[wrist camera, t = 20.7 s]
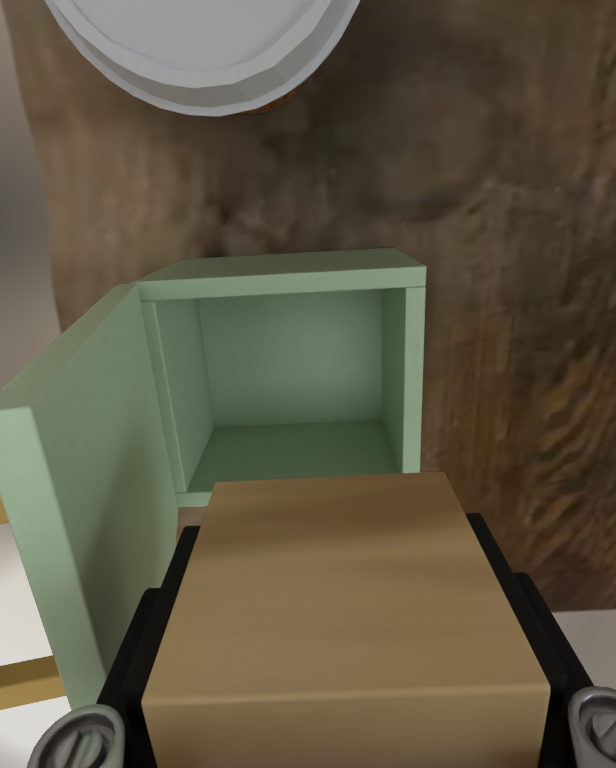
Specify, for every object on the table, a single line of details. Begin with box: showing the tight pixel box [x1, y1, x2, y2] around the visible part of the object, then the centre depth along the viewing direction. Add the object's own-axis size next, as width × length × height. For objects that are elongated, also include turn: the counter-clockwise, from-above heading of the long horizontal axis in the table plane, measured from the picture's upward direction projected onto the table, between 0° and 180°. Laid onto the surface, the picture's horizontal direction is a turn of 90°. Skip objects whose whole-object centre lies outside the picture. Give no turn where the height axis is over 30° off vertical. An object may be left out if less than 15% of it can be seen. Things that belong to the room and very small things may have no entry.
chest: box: [131, 248, 426, 507], centre depth 24 cm, size 12×11×8 cm
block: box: [141, 472, 551, 768], centre depth 9 cm, size 5×5×5 cm
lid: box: [0, 283, 178, 711], centre depth 14 cm, size 12×11×6 cm
